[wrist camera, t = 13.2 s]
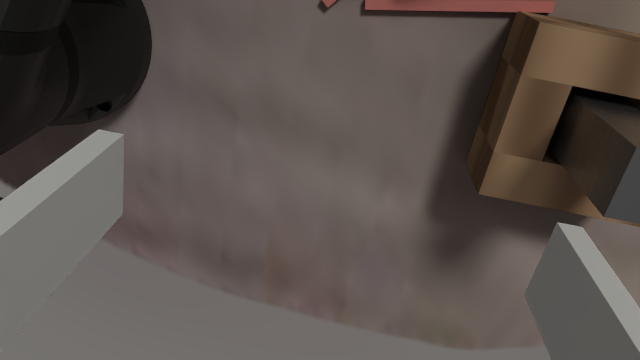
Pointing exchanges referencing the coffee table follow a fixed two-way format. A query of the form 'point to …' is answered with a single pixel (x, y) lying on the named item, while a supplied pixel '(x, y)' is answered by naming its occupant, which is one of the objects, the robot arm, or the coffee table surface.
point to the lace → (460, 5)
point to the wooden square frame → (546, 107)
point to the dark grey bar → (601, 150)
